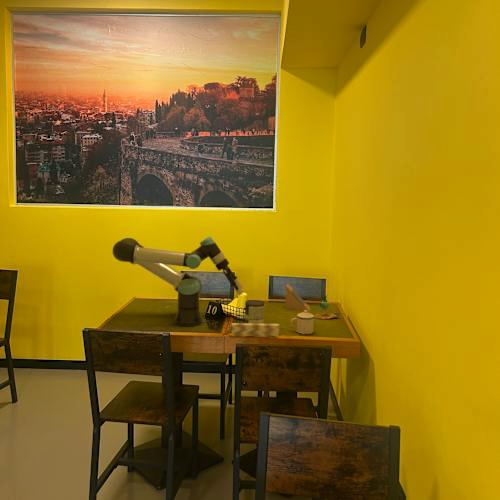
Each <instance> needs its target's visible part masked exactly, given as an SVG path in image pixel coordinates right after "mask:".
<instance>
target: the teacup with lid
mask: <svg viewBox="0 0 500 500" xmlns="http://www.w3.org/2000/svg"><path fill="white" fill-rule="evenodd" d="M314 315H315V314H312V313H310V312H309V311H307V310H304V311H303V312H302V311H301V312H300V313H297V315H296V317H292V319H291V320H290V324H291V326H292V327H293V328H296V332H298V334H299V333H301V334H300V335H305V334H307V335H312V334H313V333H314V322H315V321H314ZM295 320H296V325H294V322H293V321H295Z"/></svg>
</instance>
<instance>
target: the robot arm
mask: <svg viewBox="0 0 500 500" xmlns="http://www.w3.org/2000/svg"><path fill="white" fill-rule="evenodd" d="M199 244H200V246H199V247H198V248H196V249H195V250H193V251H191V252H182V251H172V250H165V249H158V248H157V249H156V248H147V247H144V246H143V245H142V244H140V243H139V242H138V240H136V239H135V238H132V237H125V238H122V239H121V240H119V241H117V242H116V243H114V245H113V247H112V255H113V257H114V258H115V260H117V261H119V262H122V263H124V262H125V263H130V264H132V265H133V266H134V265H138V266H140V267H141V268H143V269H145V270H147V272H150V273H151V274H153V275H154V276H156V277H158V278H160V279H161V280H162V281H164V282H166V283H168V284H170V285H171V286H172V287H173V289H174V291H175V292H177V311H176V314H175V316H174V324H175V325H176V326H179V327H189V328H190V327H197V325H198V326H200V325H202V324H203V316H202V314H201V310H200V295H201V293H202V290H203V286H202V282H201V280H200V279H199V278H198V277H196V276H192V275H190V274H188V273H187V272H182V273H181V272H180V271H178V270H176V269H175V268H173V267H172V266H176V267H186V268H189V269H192V270H194V269H197V268H199V267H200V266H201V264H202V262H203V261H205V260H206V259H207V258H209V259H210V260H211V262H212V263H213V265H214V266H215V267H216V269H217V270H218V271H221V270H223V271H222V273H223V274H224V276H225V278H226V279H227V281H228V282H229V283H230V287H231V288H233V290H235V292H236V294H237V295H238V296H241V295H242V294H244V292H243V290H242V289H243V286H242V284H241V283H240V281H239V280H238V276H236V275H235V273H233V271H232V270H231V268H230V267H229V266H228V265H229V264H230V262H229V260H228V259H227V258H226V256H225V253H224V252H222V251H221V249H220V248H219V246H218V244H217V243H216V241H215V240H214V239H213V237H212V236H207V237H206V238H204V239H203V240H201V241H200V242H199Z"/></svg>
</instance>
